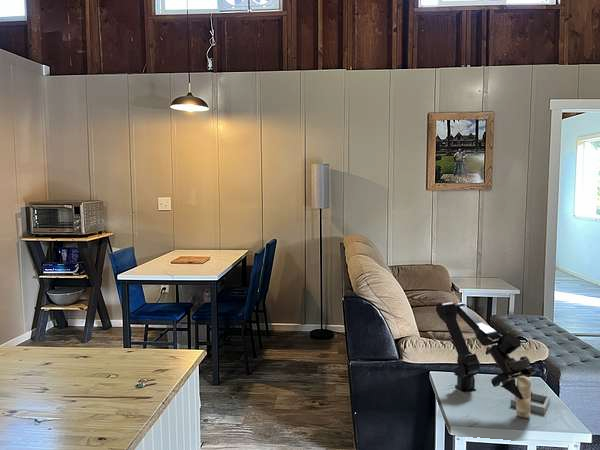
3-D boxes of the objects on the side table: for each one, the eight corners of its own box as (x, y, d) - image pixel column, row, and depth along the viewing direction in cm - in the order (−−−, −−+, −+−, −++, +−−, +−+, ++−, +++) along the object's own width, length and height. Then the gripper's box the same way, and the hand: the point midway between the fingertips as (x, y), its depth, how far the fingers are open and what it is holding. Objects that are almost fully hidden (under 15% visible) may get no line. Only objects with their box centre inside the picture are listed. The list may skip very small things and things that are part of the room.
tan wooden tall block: (517, 417, 169) (518, 380, 168) (514, 410, 173) (515, 375, 172) (531, 418, 168) (532, 381, 167) (528, 412, 172) (529, 376, 171)
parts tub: (510, 405, 180) (510, 399, 179) (517, 394, 189) (517, 389, 189) (544, 414, 172) (544, 407, 172) (549, 402, 182) (549, 396, 182)
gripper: (498, 353, 168) (523, 394, 159) (531, 346, 177) (557, 383, 167) (481, 367, 176) (504, 406, 167) (514, 359, 184) (538, 396, 175)
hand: (526, 397), depth 169 cm, fingers closed on tan wooden tall block, 5 cm apart
